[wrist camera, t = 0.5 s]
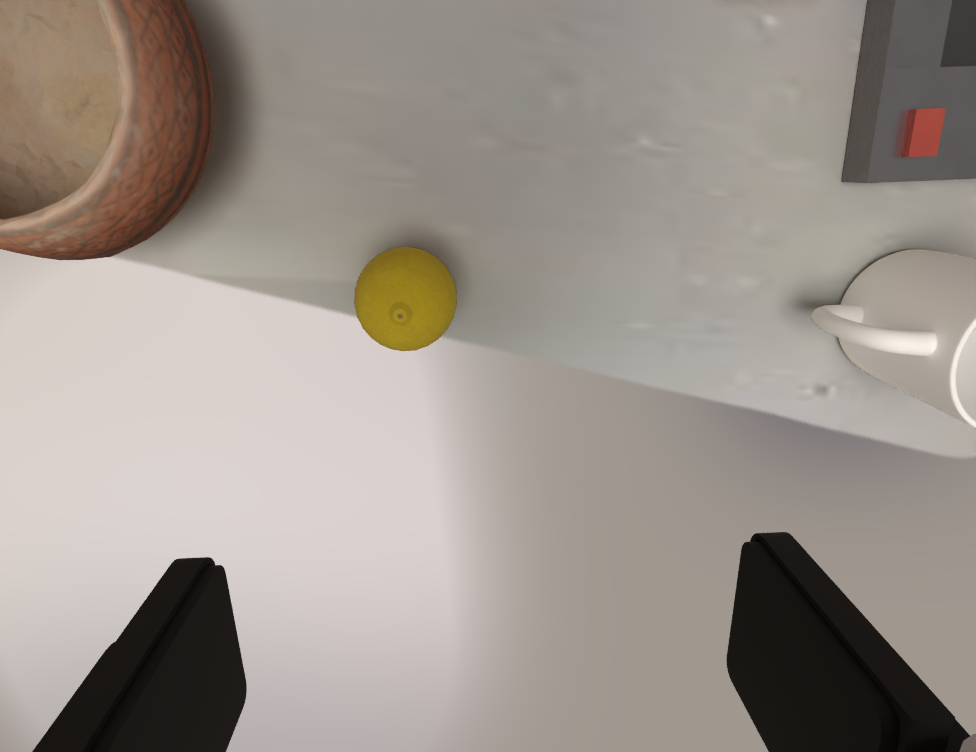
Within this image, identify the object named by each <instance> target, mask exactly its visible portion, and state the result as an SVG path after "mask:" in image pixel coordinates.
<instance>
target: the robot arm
mask: <svg viewBox="0 0 976 752" xmlns="http://www.w3.org/2000/svg"><path fill="white" fill-rule="evenodd" d="M727 668H728V673H729V676H730V679H731V681H732V683H733V685H734V687H735V689H736V691H737V692H738V694H739V696H740V698H741V700H742V702H743V704H744V706H745V707H746V709H747V711H748V713H749V715H750V717H751V719H752V720H753V723H754V725H755V726H756V728H757V730H758V732H759V734H760V736H761V738H762V740H763V741H764V743H765V745H766V747H767V749H768V751H769V752H976V734H973V735H972V736H970V735H969V734H968V733H967V732H966V731H965V730H964V728H963V727H962V726H961V725H960V724H959V723H958V722H957V721H956V720H955V717H954V716H953V715H952V714H951V712H950V711H949V710H948V709H947V708H946V707H945V706H944V705H943V704H942V702H941V701H940V700H939V699H938V698H937V697H936V696H935V695H934V693H933V692H932V691H931V690H930V689H929V688H928V687H927V686H926V685H925V683H924V682H923V681H922V680H921V679H920V678H919V677H918V676H917V675H916V673H915V672H914V671H913V670H912V669H911V668H910V667H909V666H908V665H907V663H906V662H905V661H904V660H903V659H902V658H901V657H900V656H899V654H898V653H897V652H896V651H895V650H894V649H893V648H892V647H891V646H890V644H889V643H888V642H887V641H886V640H885V639H884V638H883V637H882V636H881V634H880V633H879V632H878V631H877V630H876V629H875V628H874V627H873V626H872V624H871V623H870V622H869V621H868V620H867V619H866V618H865V617H864V615H863V614H862V613H861V612H860V611H859V610H858V609H857V608H856V607H855V606H854V604H853V603H852V602H851V601H850V600H849V599H848V598H847V597H846V595H845V594H844V593H843V592H842V591H841V590H840V589H839V588H838V587H837V585H835V583H834V582H833V581H832V580H831V579H830V578H829V577H828V575H827V574H826V573H825V572H824V571H823V570H822V569H821V568H820V567H819V566H818V564H817V563H816V562H815V561H814V560H813V559H812V558H811V557H810V556H809V554H808V553H807V552H806V551H805V550H804V549H803V548H802V547H801V545H800V544H799V543H798V542H797V541H796V540H795V539H794V538H793V536H791V535H790V534H789V533H786V532H777V533H756V534H754V535H753V536H752V538H751V541H750V542H745V543H744V544H743V546H742V550H741V557H740V565H739V571H738V579H737V587H736V593H735V601H734V608H733V615H732V623H731V631H730V637H729V645H728V653H727ZM245 699H246V679H245V673H244V668H243V664H242V658H241V652H240V648H239V642H238V637H237V631H236V626H235V621H234V616H233V610H232V605H231V600H230V594H229V589H228V584H227V578H226V573H225V570H224V568H223V566H221V565H216V566H215V563H214V561H213V560H212V559H211V558H209V557H206V558H185V559H184V558H183V559H176V560H175V561H174V562H173V563H172V564H171V565H170V567H169V568H168V569H167V571H166V572H165V573H164V575H163V576H162V578H161V579H160V580H159V582H158V583H157V585H156V586H155V587H154V589H153V590H152V592H151V593H150V595H149V596H148V597H147V599H146V600H145V601H144V603H143V604H142V606H141V607H140V608H139V610H138V611H137V613H136V614H135V615H134V617H133V618H132V620H131V621H130V622H129V624H128V625H127V627H126V628H125V629H124V631H123V632H122V634H121V635H120V636H119V638H118V639H117V641H116V642H114V643H113V644H111V646H109V647H108V649H107V650H106V651H105V652H104V653H103V655H102V656H101V658H100V659H99V660H98V662H97V663H96V664H95V666H94V667H93V669H92V670H91V671H90V673H89V674H88V676H87V677H86V678H85V680H84V681H83V682H82V684H81V685H80V687H79V688H78V689H77V691H76V692H75V694H74V695H73V696H72V698H71V699H70V701H69V702H68V703H67V705H66V706H65V708H64V709H63V710H62V712H61V713H60V714H59V716H58V717H57V719H56V720H55V721H54V723H53V724H52V725H51V727H50V728H49V729H48V731H47V732H46V734H45V735H44V736H43V738H42V739H41V741H40V742H39V743H38V745H37V746H36V747H35V749H34V750H33V752H226V750H227V747H228V745H229V742H230V740H231V737H232V735H233V731H234V729H235V727H236V724H237V722H238V719H239V717H240V714H241V711H242V709H243V706H244V703H245Z"/></svg>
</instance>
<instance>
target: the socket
mask: <svg viewBox="0 0 976 752" xmlns="http://www.w3.org/2000/svg"><path fill="white" fill-rule="evenodd" d="M972 178H976V0H868V2H867V9H866V16H865V23H864V30H863V37H862V44H861V51H860V57H859V64H858V71H857V78H856V85H855V92H854V99H853V106H852V113H851V120H850V127H849V134H848V141H847V147H846V154H845V161H844V168H843V175H842V182H857V183H878V182H901V181H925V180H949V179H972Z"/></svg>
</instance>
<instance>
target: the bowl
mask: <svg viewBox="0 0 976 752" xmlns="http://www.w3.org/2000/svg"><path fill="white" fill-rule="evenodd" d="M213 123H214V104H213V88H212V81H211V76H210V71H209V66H208V61H207V57H206V54H205V50H204V47H203V44H202V41H201V39H200V36H199V33H198V30H197V28H196V25H195V22H194V20H193V18H192V16H191V14H190V12H189V10H188V8H187V6H186V4H185V2H184V1H183V0H0V249H3V250H7V251H11V252H16V253H20V254H25V255H31V256H36V257H42V258H50V259H56V260H84V259H95V258H103V257H111V256H114V255H116V254H118V253H120V252H122V251H124V250H126V249H128V248H131V247H133V246H135V245H137V244H139V243H141V242H143V241H145V240H147V239H148V238H150V237H151V236H153V235H154V234H155V233H157V232H158V231H159V230H161V229H162V228H163V227H164V226H166V225H167V224H168V223H169V222H170V221H171V220H172V219H173V218H174V217H175V216H176V215H177V214H178V213H179V211H180V210H181V209H182V208H183V206H184V205H185V204H186V202H187V201H188V199H189V198H190V197H191V195H192V194H193V192H194V190H195V188H196V186H197V183H198V181H199V179H200V176H201V174H202V172H203V169H204V167H205V165H206V161H207V157H208V153H209V149H210V145H211V139H212V132H213Z"/></svg>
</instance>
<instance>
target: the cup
mask: <svg viewBox="0 0 976 752" xmlns="http://www.w3.org/2000/svg"><path fill="white" fill-rule="evenodd" d="M811 320H812V322H813V324H814V325H815V326H816V327H818V328H819V329H821V330H823V331H825V332H827V333H829V334H831V335H834V336H836V337H838V338H839V342H840V344H841V347H842V349H843V351H844V352H845V354H846V356H847V357H848V358H849V359H850V360H851V361H852V362H853V363H854V364H855V365H856V366H858V367H859V368H860V369H862V370H863V371H865V372H867V373H868V374H870V375H872V376H874V377H876V378H878V379H880V380H882V381H884V382H886V383H888V384H890V385H892V386H894V387H895V388H897V389H899V390H901V391H903V392H905V393H907V394H909V395H911V396H913V397H915V398H917V399H919V400H921V401H923V402H925V403H927V404H929V405H931V406H933V407H934V408H936V409H938V410H940V411H942V412H944V413H946V414H948V415H950V416H952V417H954V418H956V419H958V420H960V421H962V422H964V423H966V424H968V425H970V426H971V427H973V428H975V429H976V258H972V257H967V256H961V255H956V254H950V253H945V252H939V251H932V250H919V249H917V250H905V251H900V252H896V253H893V254H891V255H888V256H886V257H883V258H881V259H879V260H878V261H876V262H874V263H873V264H871V265H870V266H868V267H867V268H866V269H865V270H864V271H863V272H862V273H860V274H859V275H858V276H857V278H856V279H855V280H854V281H853V282H852V284H851V285H850V286H849V288H848V289H847V291H846V293H845V295H844V297H843V299H842V301H841V304H840V305H826V306H821V307H818V308H816V309H815V310H814V311H813V313H812V315H811Z"/></svg>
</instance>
